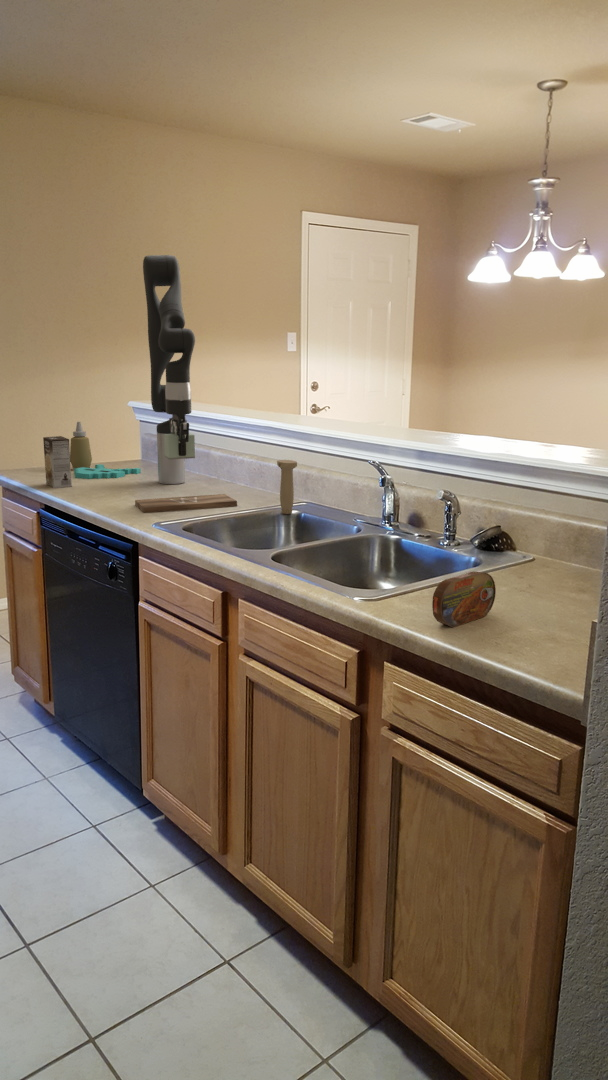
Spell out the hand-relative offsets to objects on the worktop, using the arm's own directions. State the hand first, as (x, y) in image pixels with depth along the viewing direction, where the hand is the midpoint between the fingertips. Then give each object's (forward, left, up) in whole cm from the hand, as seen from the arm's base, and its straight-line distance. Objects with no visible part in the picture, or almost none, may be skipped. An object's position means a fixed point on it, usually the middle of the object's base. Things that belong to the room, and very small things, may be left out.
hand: (179, 453), depth 244 cm
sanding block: (0, 0, -1) cm, 1 cm away
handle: (+28, +24, -15) cm, 40 cm away
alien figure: (-59, -14, -15) cm, 62 cm away
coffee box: (-41, -31, -15) cm, 53 cm away
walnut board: (+7, 0, -14) cm, 16 cm away
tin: (+124, +19, -15) cm, 127 cm away
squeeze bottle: (-73, -19, -15) cm, 77 cm away
